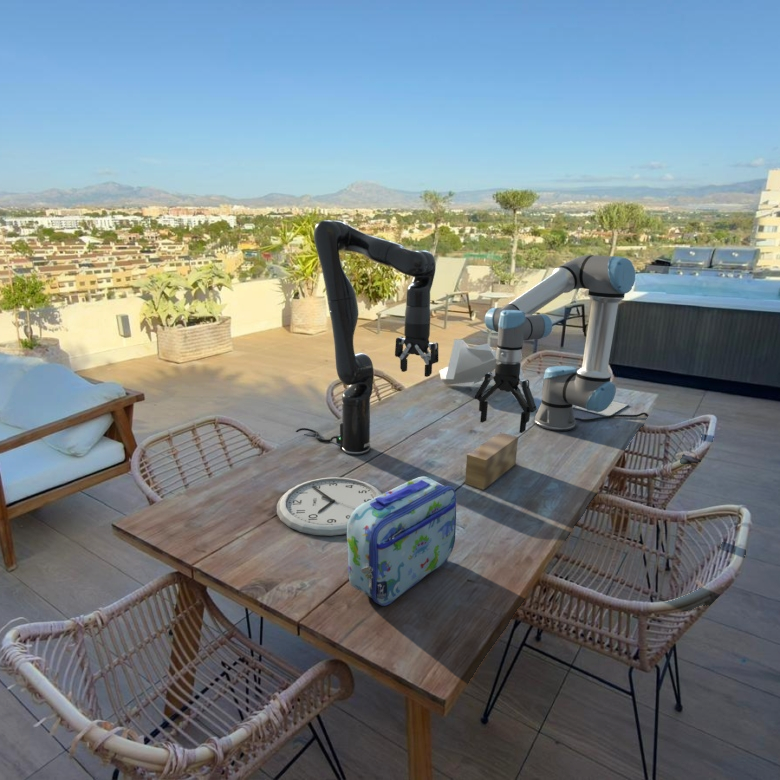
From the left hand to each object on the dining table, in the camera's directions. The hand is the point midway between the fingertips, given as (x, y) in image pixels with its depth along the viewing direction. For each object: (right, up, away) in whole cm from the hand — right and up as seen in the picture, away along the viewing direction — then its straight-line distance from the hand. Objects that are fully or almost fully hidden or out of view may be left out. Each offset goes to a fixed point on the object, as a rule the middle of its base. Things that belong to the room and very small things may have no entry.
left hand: (415, 373), depth 159 cm
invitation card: (+84, -12, +67) cm, 108 cm away
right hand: (+28, -17, +7) cm, 33 cm away
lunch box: (-5, -46, -45) cm, 65 cm away
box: (+24, -31, +4) cm, 39 cm away
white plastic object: (+34, -6, +84) cm, 91 cm away
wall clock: (-24, -36, -16) cm, 46 cm away
